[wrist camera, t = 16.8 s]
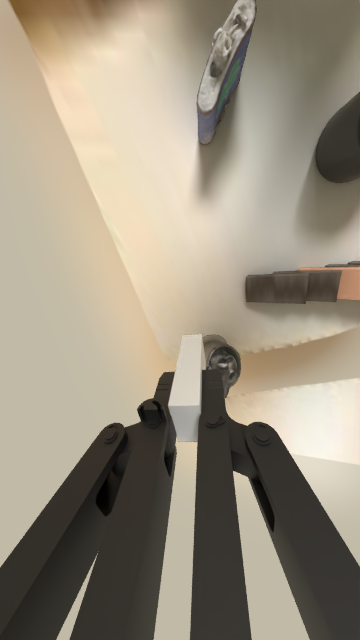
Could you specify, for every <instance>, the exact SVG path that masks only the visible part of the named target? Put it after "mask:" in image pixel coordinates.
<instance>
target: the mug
mask: <svg viewBox="0 0 360 640" xmlns="http://www.w3.org/2000/svg"><path fill="white" fill-rule="evenodd" d="M316 162H317V166H318V169H319V171H320V173H321V174H322V175H323V176H324V177H325V178H326V179H328V180H330V181H332V182H337V183H342V182H348V181H352V180H354V179H357V178H360V92H359V93H358V94H357V95H356V96H354V97H353V98H352V99H351V100H350V101H349V102H348V103H347V104H346V105H344V106H343V107H342V108H341V109H340V110H339V111H338V112H337V113H336V114H335V115H334V116H333V117H332V118H331V119H330V121H329V122H328V123H327V125H326V127H325V128H324V130H323V132H322V134H321V136H320V139H319V142H318V146H317V151H316Z"/></svg>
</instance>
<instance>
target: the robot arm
mask: <svg viewBox="0 0 360 640" xmlns="http://www.w3.org/2000/svg"><path fill="white" fill-rule="evenodd" d="M137 411H138V414H139V416H140V419H141V422H139V423H137V424H134V425H131V426H128V427H125V428H124V426H123V425H122V424H120V423H113V424H110V425H108V426H107V427H105V428H104V429H103V430H102V431H101V432H100V434H99V435H98V436H97V438H96V439H95V440H94V442H93V443H92V444H91V446H90V447H89V449H88V450H87V451H86V453H85V454H84V455H83V457H82V458H81V459H80V461H79V462H78V463H77V465H76V466H75V467H74V469H73V470H72V471H71V473H70V474H69V476H68V477H67V478H66V480H65V481H64V482H63V484H62V485H61V486H60V488H59V489H58V490H57V492H56V493H55V494H54V496H53V497H52V499H51V500H50V501H49V503H48V504H47V505H46V507H45V508H44V509H43V511H42V512H41V513H40V515H39V516H38V517H37V519H36V520H35V521H34V523H33V524H32V526H31V527H30V528H29V530H28V531H27V532H26V534H25V535H24V536H23V538H22V539H21V540H20V542H19V543H18V544H17V546H16V547H15V549H14V550H13V551H12V553H11V554H10V555H9V557H8V558H7V559H6V561H5V562H4V563H3V565H2V566H1V567H0V640H56V639H57V636H58V634H59V632H60V630H61V628H62V626H63V624H64V621H65V620H66V618H67V616H68V613H69V612H70V609H71V607H72V605H73V603H74V601H75V599H76V597H77V594H78V593H79V591H80V589H81V586H82V585H83V582H84V580H85V578H86V576H87V574H88V572H89V570H90V568H91V566H92V564H93V562H94V560H95V557H96V555H97V553H98V555H97V558H96V561H95V564H94V567H93V570H92V573H91V576H90V579H89V582H88V585H87V588H86V591H85V594H84V598H83V600H82V604H81V606H80V610H79V613H78V616H77V619H76V622H75V625H74V628H73V631H72V634H71V637H70V640H153V639H154V631H155V623H156V614H157V607H158V599H159V591H160V582H161V575H162V567H163V558H164V550H165V542H166V535H167V526H168V518H169V510H170V502H171V494H172V486H173V478H174V470H175V462H176V454H177V453H176V446H175V443H176V436H177V440H178V442H198V447H197V472H196V499H195V525H194V551H193V577H192V578H193V579H192V603H191V605H192V606H191V631H190V640H252V639H251V630H250V622H249V612H248V603H247V594H246V586H245V576H244V567H243V558H242V550H241V540H240V531H239V523H238V515H237V504H236V495H235V487H234V478H233V471H236V472H238V473H240V474H242V475H245V476H247V477H248V478H249V481H250V483H251V486H252V489H253V491H254V494H255V497H256V499H257V502H258V505H259V507H260V510H261V513H262V515H263V518H264V520H265V523H266V526H267V528H268V531H269V533H270V536H271V539H272V541H273V544H274V547H275V549H276V552H277V555H278V557H279V560H280V563H281V565H282V568H283V570H284V573H285V576H286V578H287V581H288V584H289V586H290V589H291V591H292V594H293V596H294V599H295V602H296V605H297V607H298V609H299V612H300V615H301V618H302V620H303V623H304V625H305V628H306V631H307V633H308V636H309V638H310V640H360V566H359V565H358V563H357V562H356V560H355V558H354V557H353V555H352V554H351V552H350V551H349V549H348V547H347V546H346V544H345V542H344V541H343V539H342V537H341V536H340V534H339V532H338V531H337V530H336V528H335V526H334V524H333V523H332V521H331V520H330V518H329V516H328V515H327V513H326V511H325V510H324V508H323V507H322V505H321V503H320V502H319V500H318V498H317V497H316V495H315V494H314V492H313V490H312V489H311V487H310V485H309V484H308V482H307V481H306V479H305V477H304V476H303V474H302V472H301V471H300V469H299V468H298V466H297V464H296V463H295V461H294V459H293V458H292V456H291V455H290V453H289V451H288V450H287V448H286V446H285V445H284V443H283V442H282V440H281V438H280V437H279V435H278V434H277V432H276V431H275V430H274V429H273V428H272V427H271V426H269V425H268V424H265V423H262V422H253V423H251V424H249V425H248V426H246V425H243V424H240V423H237V422H235V421H234V420H232V419H231V418H230V417H229V416H228V414H227V412H226V407H225V398H224V390H223V381H222V374H221V373H220V371H219V370H218V369H209V370H206V360H205V353H204V346H203V339H202V334H193V335H183V337H182V342H181V346H180V351H179V356H178V361H177V366H176V370H175V372H165V373H163V375H162V376H161V377H160V379H159V382H158V386H157V389H156V392H155V395H154V398H153V399H148V400H146V401H144V402H143V403H142V404H141V405H140V406H139V407H138V409H137ZM98 551H99V552H98Z"/></svg>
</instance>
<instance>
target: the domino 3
mask: <svg viewBox="0 0 360 640" xmlns="http://www.w3.org/2000/svg"><path fill="white" fill-rule="evenodd" d="M320 270H342V274H341V279H340V284H339V290H338V295H337V299H348V300H360V267H330V268H300V269H299V271H320Z"/></svg>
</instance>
